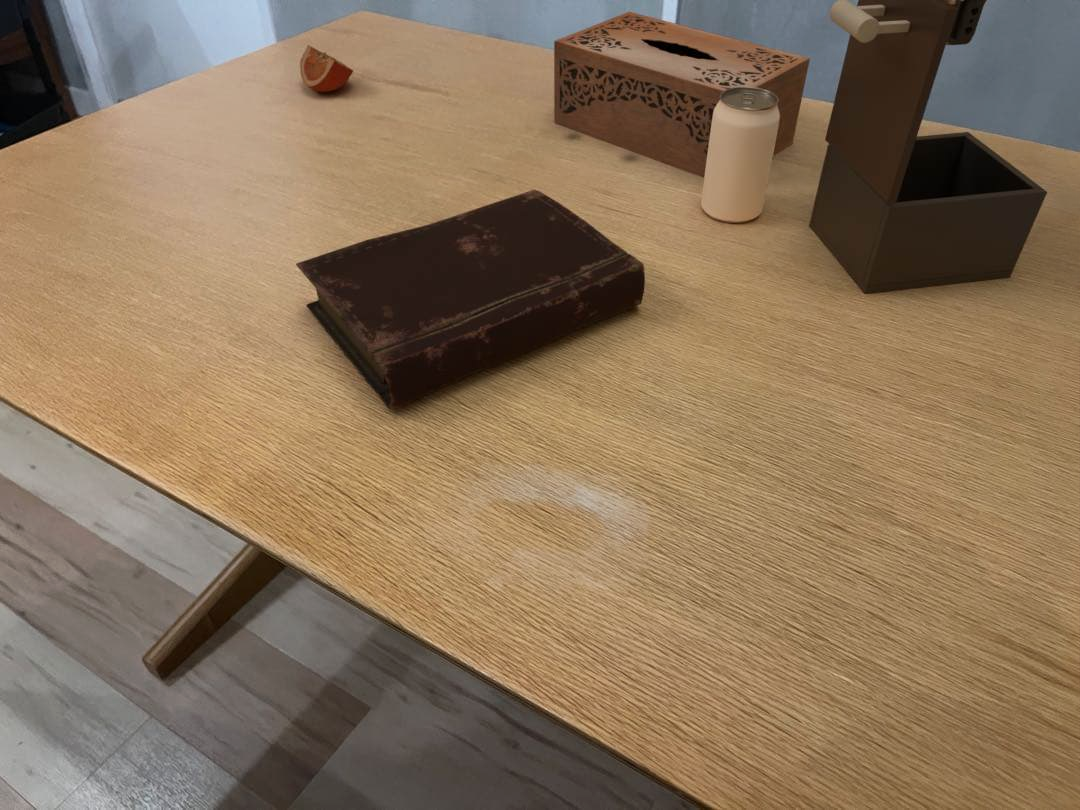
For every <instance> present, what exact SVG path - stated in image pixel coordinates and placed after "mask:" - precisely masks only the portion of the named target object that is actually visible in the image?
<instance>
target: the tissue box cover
mask: <svg viewBox="0 0 1080 810" xmlns="http://www.w3.org/2000/svg"><path fill="white" fill-rule="evenodd" d="M810 61H811V57H807V56H803V55H799V54H796V53H791V52H787V51H784V50H780V49H777V48H772V47H768V46H765V45H761V44H756V43H752V42H749V41H746V40H745V41H744V40H742V39H738V38H733V37H729V36H726V35H722V34H719V33H713V32H709V31H706V30H703V29H698V28H694V27H690V26H686V25H683V24H679V23H675V22H671V21H667V20H663V19H659V18H657V17H651V16H647V15H644V14H640V13H636V12H632V11H627V12H625V13H622V14H619V15H616V16H615V17H612V18H610V19H606V20H604V21H602V22H599V23H597V24H594V25H591V26H589V27H585V28H584V29H582V30H578V31H576V32H573V33H570V34H568V35H565V36H562V37H561V38H558V39H556V40H554V41H553V63H554V64H553V70H554V71H553V73H554V74H553V76H554V77H553V78H554V79H553V81H554V82H553V85H554V86H553V88H554V89H553V91H554V92H553V93H554V94H553V97H554V98H553V101H554V103H553V107H554V113H553V116H554V118H553V119H554V120H553V123H554V124H558V125H559V126H561V127H562V126H563V127H565V128H569V129H571V130H574V131H576V132H579V133H581V134H584V135H586V136H590V137H592V138H596V139H598V140H601V141H604V142H606V143H609V144H612V145H614V146H616V147H620V148H622V149H625V150H629V151H632V152H634V153H636V154H639V155H641V156H642V155H643V156H645V157H648V158H650V159H653V160H656V161H659V162H661V163H664V164H667V165H669V166H672V167H675V168H677V169H681V170H682V171H686V172H689V173H691V174H694V175H697V176H699V177H703V178H704V176H705V169H706V161H707V153H708V146H709V138H710V131H711V124H712V117H713V112H714V109H715V107H716V105H717V104H718V102H719V100H720V94H721V93H722V92H723V91H725V90H727V89H730V88H734V87H756V88H761V89H765V90H768V91H770V92H772V93H774V94H775V95H776V96H777V97H778V99H779V101H778V104H777V106H778V110H779V113H780V119H779V126H778V131H777V137H776V142H775V147H774V153H773V156H775V155H777V154H779V152H781V151H783V150H784V149H786V148H788V147H789V146H790V145H792V144H793V143H794V139H795V134H796V130H797V125H798V120H799V115H800V110H801V105H802V100H803V95H804V89H805V85H806V79H807V74H808V70H809V65H810Z"/></svg>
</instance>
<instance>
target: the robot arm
mask: <svg viewBox="0 0 1080 810" xmlns="http://www.w3.org/2000/svg"><path fill="white" fill-rule="evenodd" d="M987 1H988V0H957V1H956V4H955V7H956V8H957V11H956V14H955V17H954V20H953V23H952V27H951V30H950V33H949V36H948V39H947V43H949V44H950V45H949V46H961V45H962V46H963V45H967V44H970V43H971V42H972V39H973V37H974V36H975V34H976V30H977V27H978V24H979V22H980V18H981V15H982V13H983V9H984V7H985V4H986V3H987Z"/></svg>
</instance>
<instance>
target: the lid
mask: <svg viewBox="0 0 1080 810" xmlns="http://www.w3.org/2000/svg"><path fill="white" fill-rule="evenodd" d="M956 11H957V8H956V7H954V6H952V5H951V4H949V3H947V2H945V1H943V0H858V1H857V5H855V3H853V2H851V1H850V0H837V1H835V2H834V3H833V4H832V6H831V7H830V9H829V18H830V20H831V21H832V22H833V23H834V24H836V25H837V26H838V27H840V28H841V29H842V30H843V31H845V32H846V33H848V34H849V38H848V42H847V46H846V50H845V55H844V58H843V63H842V68H841V72H840V76H839V79H838V84H837V88H836V93H835V95H834V96H835V97H834V101H833V105H832V109H831V114H830V118H829V122H828V127H827V131H826V133H825V134H826V135H825V141H826V143H827V144H828V145H829V144H830V145H831V146H832V147H833V148H834V149H835V150H836V151H837V152H838V153H839V154H840V155H841V156H842V157H843V158H844V159H845V160H846V161H847V162H848V163H849V164H850V165H851V166H852V167H853V168H854V169H855V170H856V171H857V172H858V173H859V174H860V175H861V176H862V177H863V178H864V179H865V180H866V181H867V182H868V183H869V184H870V185H871V186H872V187H873V188H874V189H875V190H876V191H877V192H878V193H879V194H880V195H881V196H882V197H883V198H884V199H885V200H886V201H887V202H888V203H891V202H896V201H897V198H898V195H899V191H900V188H901V185H902V182H903V179H904V176H905V172H906V169H907V166H908V163H909V160H910V157H911V153H912V150H913V147H914V144H915V141H916V138H917V136H918V134H919V131H920V128H921V124H922V122H923V118H924V115H925V112H926V109H927V106H928V103H929V99H930V97H931V93H932V90H933V87H934V83H935V80H936V77H937V74H938V71H939V68H940V64H941V61H942V58H943V56H944V52H945V48H946V46H947V45H946V42H947V39H948V36H949V33H950V30H951V27H952V23H953V20H954V17H955V14H956Z"/></svg>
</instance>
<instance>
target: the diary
mask: <svg viewBox="0 0 1080 810" xmlns="http://www.w3.org/2000/svg"><path fill="white" fill-rule="evenodd" d="M295 266H296V267H297V269H299V270H300V272H301V273H302V274H303V276H305V277H306V279H307V280H308V281H309V282H310V283H311V284H312V286H313V287H314V288H315V290H316V295H317V299H318V300H315V301H312V302H309V303H306V307H307V309H308V310H309V312H311V314H312V316H314V318H315V319H316V320H317V321H318V322H319V324H320V325H321V326H322V327H323V329H324V330H325V332H326V333H327V334H329V336H330V337H331V339H332V340H333V341H334V343H335V344H336V345H337V347H339V349H340V350H341V351H342V353H343V354H344V355H345V356H346V358H347V359H348V360H349V361H350V362H351V364H352V365H353V366H354V368H355V369H356V370H357V371H358V372H359V374H360V375H361V376H362V377H363V379H364V380H365V381H366V382H367V383H368V385H369V386H370V388H371V389H372V390H373V391H374V393H375V394H376V395H377V396H378V398H379V399H380V400H381V401H382V403H384V405H385V406H386V407H387V409H388V410H389V411H392V410H394V409H397V408H399V407H401V406H403V405H406V404H409V403H410V402H412V401H415V400H417V399H419V398H421V397H424V396H425V395H428V394H430V393H433V392H434V391H436V390H439V389H441V388H443V387H446V386H448V385H450V384H451V383H454V382H456V381H458V380H461V379H463V378H466V377H469V376H471V375H472V374H475V373H478V372H480V371H483V370H485V369H488V368H491V367H493V366H495V365H498V364H501V363H503V362H506V361H508V360H511V359H513V358H516V357H519V356H522V355H524V354H526V353H529V352H531V351H533V350H535V349H537V348H539V347H541V346H544V345H546V344H548V343H551V342H552V341H555V340H557V339H560V338H562V337H563V336H566V335H568V334H569V333H572V332H575V331H576V330H578V329H580V328H583V327H586V326H588V325H590V324H593V323H595V322H598V321H601V320H603V319H607V318H609V317H612V316H614V315H617V314H619V313H622V312H624V311H625V312H626V311H628V310H631V309H632V308H636V307H637V306H639V305H641V304H642V302H643V298H644V294H645V285H646V276H645V275H646V274H645V266H644V264H643V262H642V261H640V260H639V259H638V258H636V256H633V255H632V254H631V253H628V252H627V251H626V250H625V249H623V248H622V247H620V246H619V245H617V244H616V243H615V242H613V241H612V240H610V239H609V238H608V237H606V236H605V235H604V234H603V233H601V232H600V231H599V230H598V229H596V228H595V227H594V226H593V225H591V224H590V223H589V222H587V221H586V220H585V219H583V218H582V217H580V216H579V215H578V214H576V213H574V212H573V211H571V209H569V208H567V207H566V206H564V205H563V204H562V203H560V202H559V201H556V199H554V198H552V197H550V196H548V195H547V194H545V193H544V192H542V191H540V190H537V189H532V190H531V189H530V190H528V191H525V192H522V193H520V194H516V195H513V196H510V197H507V198H505V199H500V200H498V201H496V202H492V203H489V204H486V205H482V206H480V207H477V208H474V209H471V210H468V211H465V212H462V213H458V214H456V215H454V216H449V217H447V218H444V219H441V220H437V221H435V222H432V223H429V224H425V225H420V226H417V227H413V228H409V229H405V230H402V231H397V232H392V233H389V234H385V235H381V236H377V237H372V238H369V239H365V240H362V241H359V242H356V243H354V244H350V245H347V246H344V247H342V248H339V249H336V250H332V251H329V252H327V253H323V254H320V255H317V256H315V257H312V258H309V259H305V260H302V261H299V262H297V263H296V264H295Z"/></svg>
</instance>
